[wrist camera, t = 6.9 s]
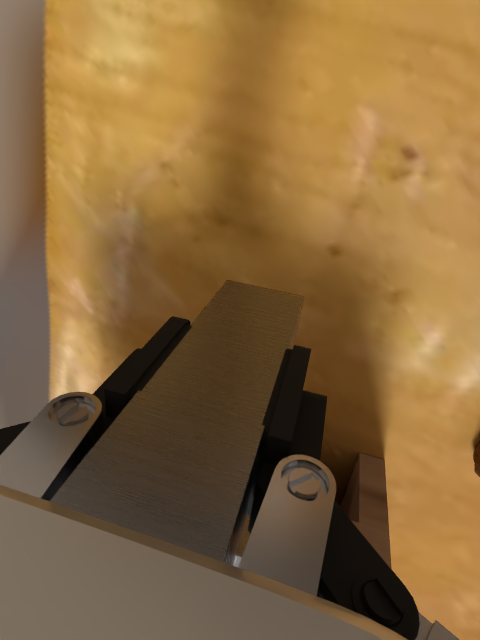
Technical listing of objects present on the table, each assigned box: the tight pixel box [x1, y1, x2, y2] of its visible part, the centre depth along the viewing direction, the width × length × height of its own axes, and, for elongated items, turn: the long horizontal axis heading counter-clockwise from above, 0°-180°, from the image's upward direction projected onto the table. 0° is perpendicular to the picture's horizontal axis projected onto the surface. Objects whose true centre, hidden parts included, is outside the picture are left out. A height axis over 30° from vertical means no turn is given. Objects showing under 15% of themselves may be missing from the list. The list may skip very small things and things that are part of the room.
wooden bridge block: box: [340, 453, 391, 568], centre depth 30 cm, size 10×20×16 cm, turn 84°
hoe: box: [50, 280, 304, 567], centre depth 13 cm, size 14×5×12 cm, turn 174°
